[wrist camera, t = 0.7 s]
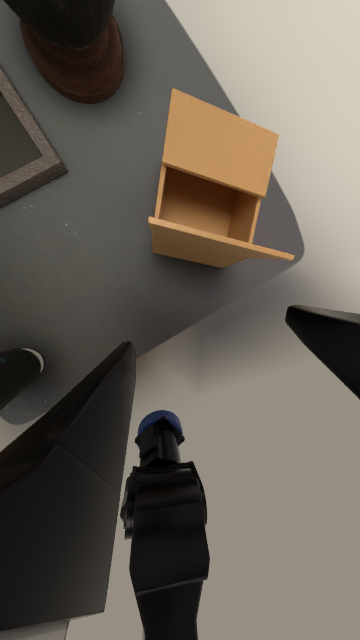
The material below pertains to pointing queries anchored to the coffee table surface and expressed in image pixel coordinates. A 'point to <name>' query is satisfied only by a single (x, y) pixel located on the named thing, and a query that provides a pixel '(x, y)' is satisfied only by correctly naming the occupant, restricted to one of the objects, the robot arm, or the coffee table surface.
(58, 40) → the black ball on stand
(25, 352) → the dixie cup
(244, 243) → the flap
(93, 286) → the coffee table surface
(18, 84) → the coffee table surface
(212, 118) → the carton
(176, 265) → the coffee table surface
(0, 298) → the coffee table surface
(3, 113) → the picture frame
